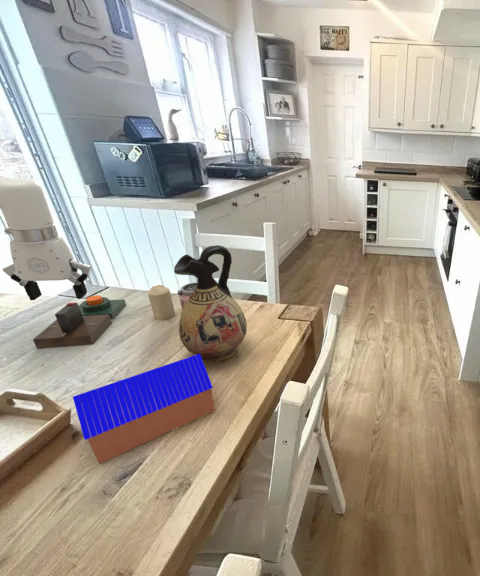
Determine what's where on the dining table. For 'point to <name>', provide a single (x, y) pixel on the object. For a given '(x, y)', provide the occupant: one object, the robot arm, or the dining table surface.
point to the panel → (73, 333)
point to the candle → (161, 302)
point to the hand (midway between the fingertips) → (59, 297)
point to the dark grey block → (69, 317)
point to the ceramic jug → (210, 309)
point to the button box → (103, 308)
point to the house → (144, 406)
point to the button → (94, 300)
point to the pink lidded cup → (186, 293)
